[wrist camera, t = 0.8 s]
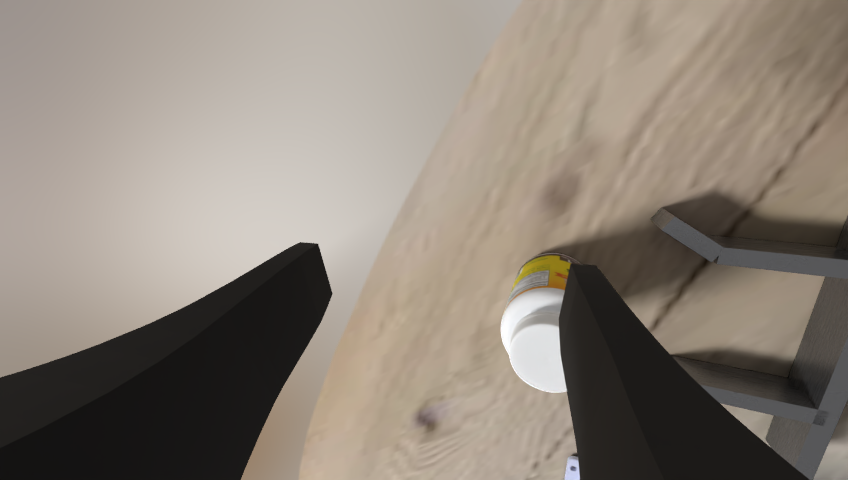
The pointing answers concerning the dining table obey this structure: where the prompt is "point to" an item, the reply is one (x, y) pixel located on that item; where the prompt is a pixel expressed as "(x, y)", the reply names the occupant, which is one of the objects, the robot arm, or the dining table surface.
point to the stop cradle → (816, 358)
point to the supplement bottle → (537, 321)
